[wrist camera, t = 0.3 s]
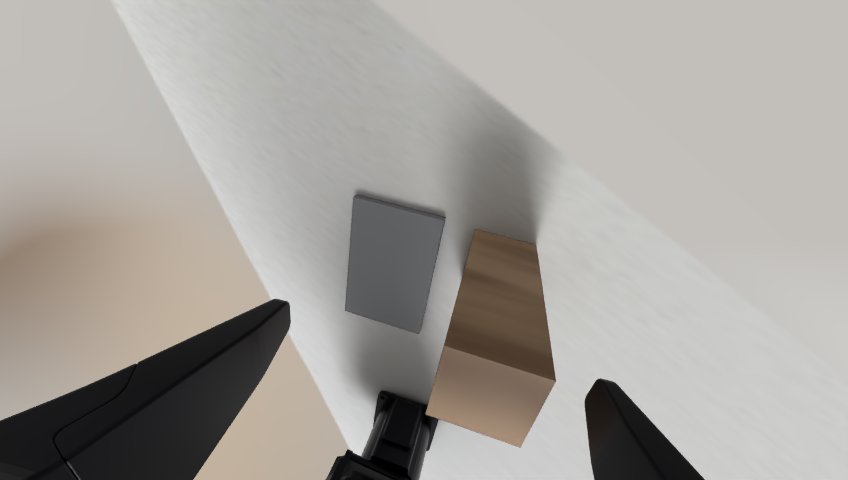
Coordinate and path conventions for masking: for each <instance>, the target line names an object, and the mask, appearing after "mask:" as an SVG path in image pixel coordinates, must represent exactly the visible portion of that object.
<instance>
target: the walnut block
mask: <svg viewBox="0 0 848 480" xmlns="http://www.w3.org/2000/svg"><path fill="white" fill-rule="evenodd" d="M555 382H556V379H555V372H554V365H553V358H552V351H551V344H550V337H549V330H548V323H547V316H546V309H545V302H544V295H543V288H542V281H541V274H540V267H539V260H538V253H537V247H536V245H534V244H530V243H526V242H522V241H518V240H514V239H511V238H507V237H503V236H499V235H495V234H491V233H488V232H484V231H480V230H476V229H475V233H474V236H473V240H472V243H471V247H470V251H469V254H468V258H467V262H466V265H465V269H464V273H463V276H462V280H461V284H460V288H459V291H458V295H457V299H456V302H455V306H454V310H453V314H452V317H451V321H450V325H449V328H448V332H447V336H446V340H445V343H444V347H443V351H442V355H441V358H440V362H439V366H438V369H437V373H436V377H435V381H434V384H433V388H432V392H431V396H430V399H429V403H428V407H427V410H426V415H429V416H432V417H435V418H437V419H440V420H443V421H446V422H449V423H452V424H454V425H457V426H460V427H463V428H466V429H469V430H472V431H474V432H477V433H480V434H483V435H486V436H489V437H491V438H494V439H497V440H500V441H503V442H506V443H508V444H511V445H514V446H517V447H521V446H522V444H523V442H524V440H525V438H526V436H527V434H528V432H529V431H530V429H531V427H532V425H533V423H534V421H535V419H536V417H537V416H538V414H539V412H540V410H541V408H542V406H543V404H544V403H545V401H546V399H547V397H548V395H549V393H550V391H551V389H552V388H553V386H554V384H555Z"/></svg>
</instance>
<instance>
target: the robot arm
mask: <svg viewBox="0 0 848 480" xmlns="http://www.w3.org/2000/svg"><path fill="white" fill-rule="evenodd" d="M290 323H291V320H290V305H289V303H288V302H287V301H284V300H279V299H273V300H271V301H269V302H266V303H264V304H262V305H260V306H258V307H256V308H254V309H251V310H249V311H247V312H245V313H243V314H241V315H239V316H236V317H234V318H232V319H230V320H228V321H226V322H224V323H221V324H219V325H217V326H215V327H213V328H211V329H209V330H206V331H204V332H202V333H200V334H198V335H196V336H193V337H191V338H189V339H187V340H185V341H183V342H181V343H178V344H176V345H174V346H172V347H170V348H168V349H166V350H163V351H161V352H159V353H157V354H155V355H153V356H151V357H148V358H146V359H144V360H142V361H140V362H138V364H133V365H131V366H129V367H127V368H125V369H122V370H120V371H118V372H116V373H114V374H112V375H109V376H107V377H105V378H103V379H100V380H98V381H96V382H94V383H91V384H89V385H87V386H85V387H82V388H80V389H77V390H75V391H73V392H70V393H68V394H65V395H63V396H60V397H58V398H56V399H53V400H51V401H48V402H46V403H43V404H41V405H38V406H36V407H33V408H31V409H28V410H26V411H24V412H21V413H18V414H16V415H13V416H11V417H8V418H6V419H4V420H1V421H0V480H193V479H194V478H195V476H196V475H197V473H198V472H199V470H200V469H201V467H202V466H203V465H204V463H205V462H206V460H207V459H208V457H209V456H210V454H211V452H212V451H213V450H214V448H215V447H216V445H217V444H218V443H219V441H220V440H221V438H222V437H223V435H224V434H225V432H226V430H227V429H228V428H229V426H230V425H231V423H232V422H233V420H234V419H235V418H236V416H237V415H238V413H239V411H240V410H241V409H242V407H243V406H244V404H245V403H246V401H247V400H248V398H249V397H250V396H251V394H252V393H253V391H254V390H255V388H256V387H257V385H258V384H259V382H260V381H261V379H262V378H263V376H264V374H265V372H266V371H267V369H268V367H269V365H270V363H271V362H272V360H273V358H274V356H275V354H276V352H277V350H278V349H279V346H280V345H281V343H282V341H283V339H284V337H285V336H286V334H287V332H288V330H289V327H290ZM427 407H428V406H425V405H422V404H419V403H416V402H413V401H410V400H407V399H405V398H402V397H399V396H396V395H393V394H390V393H387V392H384V391H381V392H380V393H379V395H378V399H377V405H376V412H375V418H374V424H373V429H372V431H371V434H370V436H369V439H368V441H367V444H366V446H365V448H364V451H363V453H362V456H359V455H357V454H354V453H353V451H351V450H347V451H346V453H345V455H344V456H339V457H337V458H336V460H335V462H334V465H333V467H332V469H331V471H330V473H329V475H328V477H327V479H326V480H419V478H420V474H421V470H422V465H423V461H424V457H425V453H426V451H428V450H429V449H430V446H431V442H432V439H433V436H434V433H435V429H436V426H437V423H438V420H439V419H437V418H435V417H432V416H429V415H426V410H427ZM585 412H586V421H587V430H588V440H589V449H590V457H591V464H592V469H593V475H594V479H595V480H705V479H704V478H703V477H702V476H701V475H700V474H699V473H698V472H697V471H696V470H695V468H694V467H693V466H692V465H691V464H690V463H689V462H688V461H687V460H686V459H685V458H684V457H683V455H682V454H681V453H680V452H679V451H678V450H677V449H676V448H675V447H674V446H673V445H672V443H671V442H670V441H669V440H668V439H667V438H666V437H665V436H664V435H663V434H662V433H661V432H660V430H659V429H658V428H657V427H656V426H655V425H654V424H653V423H652V422H651V421H650V420H649V418H648V417H647V416H646V415H645V414H644V413H643V412H642V411H641V410H640V409H639V408H638V407H637V405H636V404H635V403H634V402H633V401H632V400H631V399H630V398H629V397H628V396H627V395H626V394H625V392H624V391H623V390H622V389H621V388H620V387H619V386H618V385H617V384H616V383H615V382H613V381H609V380H605V379H598V380H596V381H595V383H594V385H593V386H592V388H591V389H590V391H589V393H588V394H587V396H586V398H585Z"/></svg>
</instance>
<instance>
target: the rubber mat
mask: <svg viewBox="0 0 848 480" xmlns="http://www.w3.org/2000/svg"><path fill="white" fill-rule="evenodd" d="M444 222H445V217H441V216H437V215H433V214H429V213H425V212H421V211H418V210H414V209H410V208H406V207H402V206H398V205H394V204H391V203H387V202H383V201H379V200H375V199H371V198H367V197H364V196H360V195H356V196H354V197H353V209H352V223H351V236H350V250H349V264H348V277H347V291H346V305H345V311H347V312H350V313H354V314H357V315H360V316H363V317H366V318H369V319H373V320H376V321H379V322H382V323H385V324H388V325H391V326H395V327H398V328H401V329H404V330H407V331H410V332H414V333H417V334H419V333H420V330H421V326H422V322H423V317H424V313H425V308H426V304H427V299H428V295H429V290H430V286H431V281H432V277H433V272H434V268H435V263H436V259H437V254H438V250H439V245H440V241H441V236H442V232H443V227H444Z"/></svg>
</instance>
